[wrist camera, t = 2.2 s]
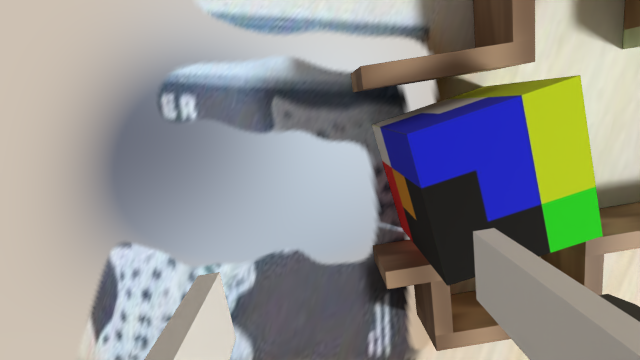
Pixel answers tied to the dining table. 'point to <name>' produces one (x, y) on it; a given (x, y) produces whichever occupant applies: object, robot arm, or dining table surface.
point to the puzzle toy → (493, 171)
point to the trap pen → (575, 261)
